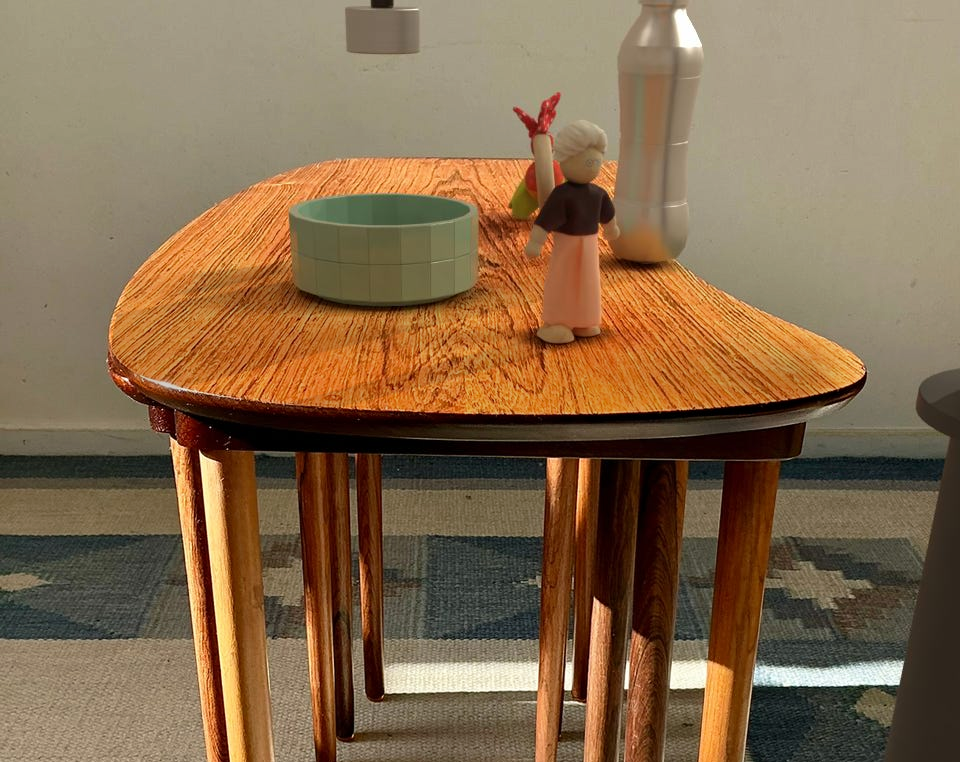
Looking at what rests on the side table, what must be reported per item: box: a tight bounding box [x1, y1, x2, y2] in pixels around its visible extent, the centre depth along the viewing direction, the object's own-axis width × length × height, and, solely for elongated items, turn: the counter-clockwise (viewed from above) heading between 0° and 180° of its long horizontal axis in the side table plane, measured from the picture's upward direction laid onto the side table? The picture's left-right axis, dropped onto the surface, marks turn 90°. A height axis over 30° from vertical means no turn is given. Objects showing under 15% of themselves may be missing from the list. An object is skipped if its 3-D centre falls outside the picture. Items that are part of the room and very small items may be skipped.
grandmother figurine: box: [524, 119, 620, 344], centre depth 75 cm, size 8×4×13 cm, turn 143°
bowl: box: [288, 192, 480, 307], centre depth 87 cm, size 13×13×6 cm
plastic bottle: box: [607, 0, 705, 265], centre depth 92 cm, size 6×7×20 cm
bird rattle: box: [507, 91, 567, 221], centre depth 108 cm, size 6×11×9 cm
